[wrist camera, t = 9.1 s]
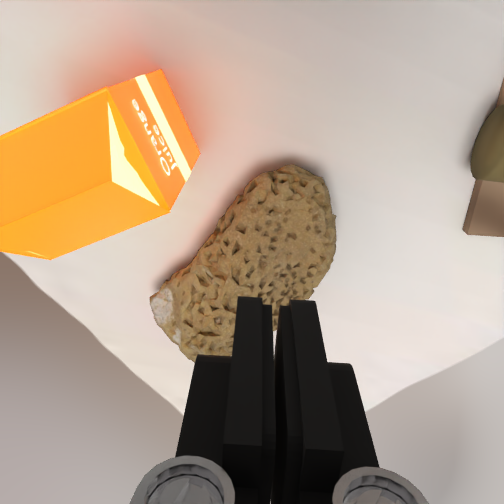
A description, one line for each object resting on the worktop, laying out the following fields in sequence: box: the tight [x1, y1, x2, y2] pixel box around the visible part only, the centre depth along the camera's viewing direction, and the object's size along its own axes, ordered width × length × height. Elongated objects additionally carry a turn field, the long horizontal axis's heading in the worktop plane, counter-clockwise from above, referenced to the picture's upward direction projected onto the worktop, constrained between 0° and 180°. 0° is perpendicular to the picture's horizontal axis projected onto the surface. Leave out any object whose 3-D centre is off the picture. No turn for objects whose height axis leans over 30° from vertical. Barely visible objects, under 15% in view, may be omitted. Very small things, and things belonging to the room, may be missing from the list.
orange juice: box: [0, 69, 200, 260], centre depth 31 cm, size 8×9×20 cm
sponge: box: [150, 164, 336, 363], centre depth 42 cm, size 13×8×20 cm
